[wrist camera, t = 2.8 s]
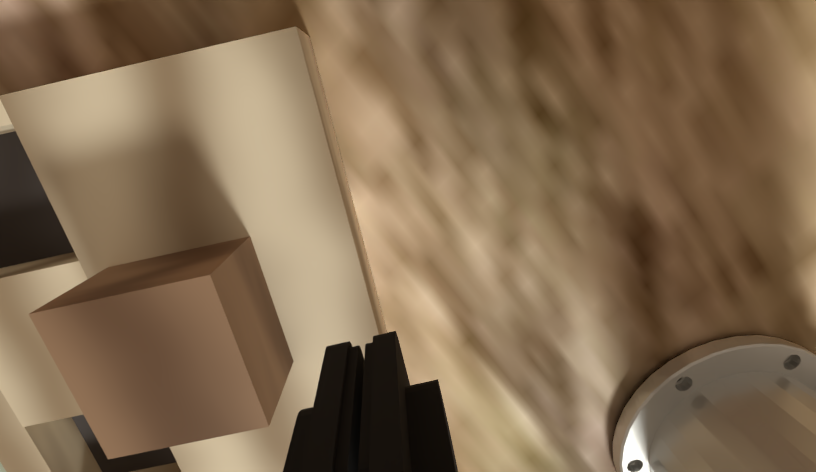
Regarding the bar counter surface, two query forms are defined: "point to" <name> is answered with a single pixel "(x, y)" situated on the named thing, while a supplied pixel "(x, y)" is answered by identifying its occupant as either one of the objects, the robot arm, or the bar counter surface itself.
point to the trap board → (175, 227)
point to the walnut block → (170, 348)
